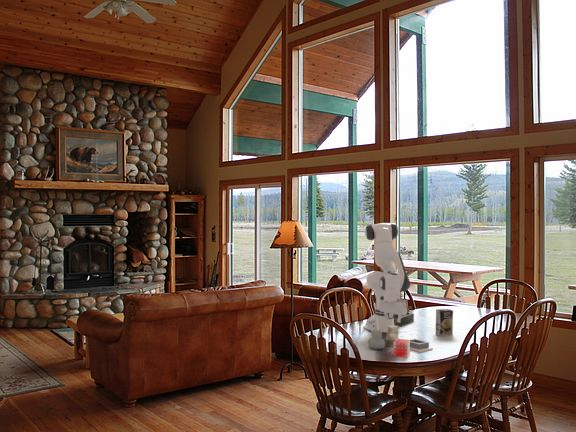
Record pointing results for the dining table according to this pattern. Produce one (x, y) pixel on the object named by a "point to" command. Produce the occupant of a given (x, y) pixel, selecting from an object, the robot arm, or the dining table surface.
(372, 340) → the air freshener
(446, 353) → the dining table surface
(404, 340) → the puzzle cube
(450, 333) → the coffee box
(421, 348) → the socket board
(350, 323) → the dining table surface
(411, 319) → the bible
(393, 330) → the banded block
